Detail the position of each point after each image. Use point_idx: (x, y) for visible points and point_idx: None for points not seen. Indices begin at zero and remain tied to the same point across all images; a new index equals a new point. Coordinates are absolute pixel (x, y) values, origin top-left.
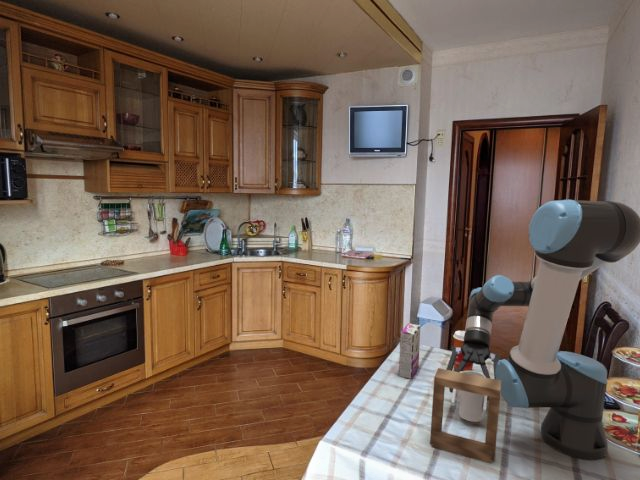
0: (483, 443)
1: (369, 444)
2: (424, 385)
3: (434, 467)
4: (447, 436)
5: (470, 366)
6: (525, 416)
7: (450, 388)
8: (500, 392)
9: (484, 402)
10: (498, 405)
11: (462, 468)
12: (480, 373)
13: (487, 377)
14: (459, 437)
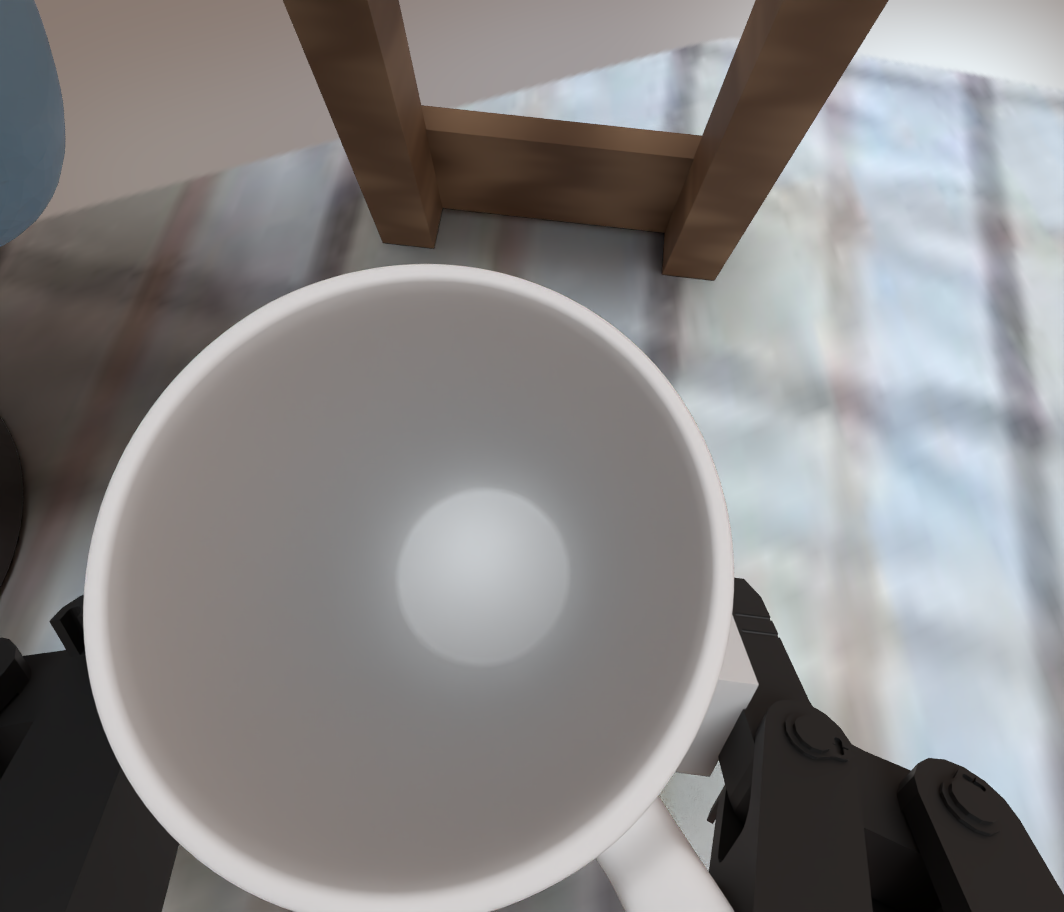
0: (435, 123)
1: (988, 145)
2: None
3: (666, 89)
4: (646, 131)
5: None
6: None
7: (747, 596)
8: (25, 115)
9: None
10: None
11: (546, 116)
12: (173, 791)
13: (52, 822)
14: (575, 138)
